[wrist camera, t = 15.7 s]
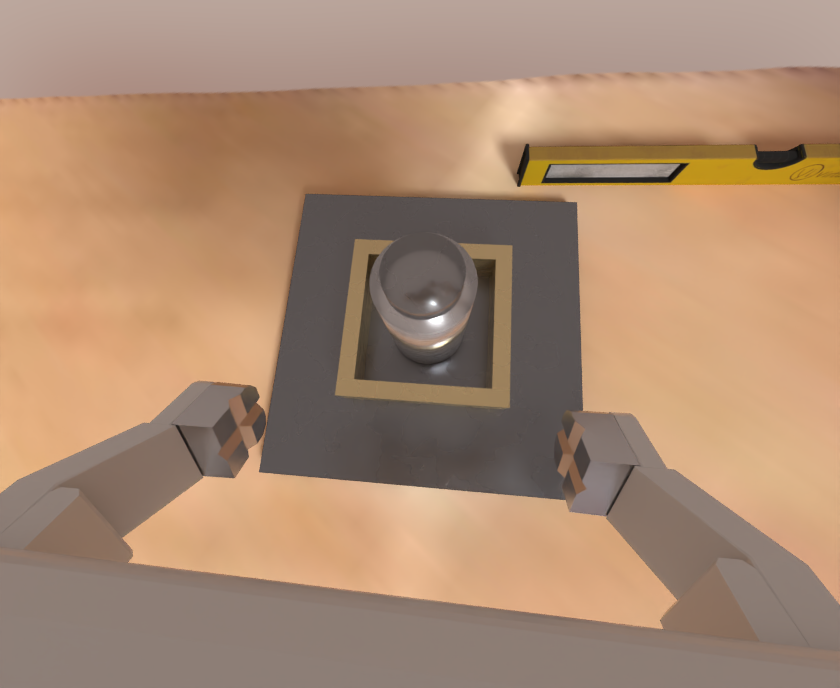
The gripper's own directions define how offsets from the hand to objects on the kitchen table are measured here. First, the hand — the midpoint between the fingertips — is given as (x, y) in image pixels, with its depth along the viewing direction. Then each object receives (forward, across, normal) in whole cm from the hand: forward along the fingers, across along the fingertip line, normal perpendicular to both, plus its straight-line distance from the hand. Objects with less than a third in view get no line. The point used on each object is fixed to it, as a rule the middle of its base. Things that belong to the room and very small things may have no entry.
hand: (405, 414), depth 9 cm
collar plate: (+14, 0, +6) cm, 15 cm away
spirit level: (+24, -22, -3) cm, 33 cm away
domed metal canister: (+13, 0, +5) cm, 14 cm away
